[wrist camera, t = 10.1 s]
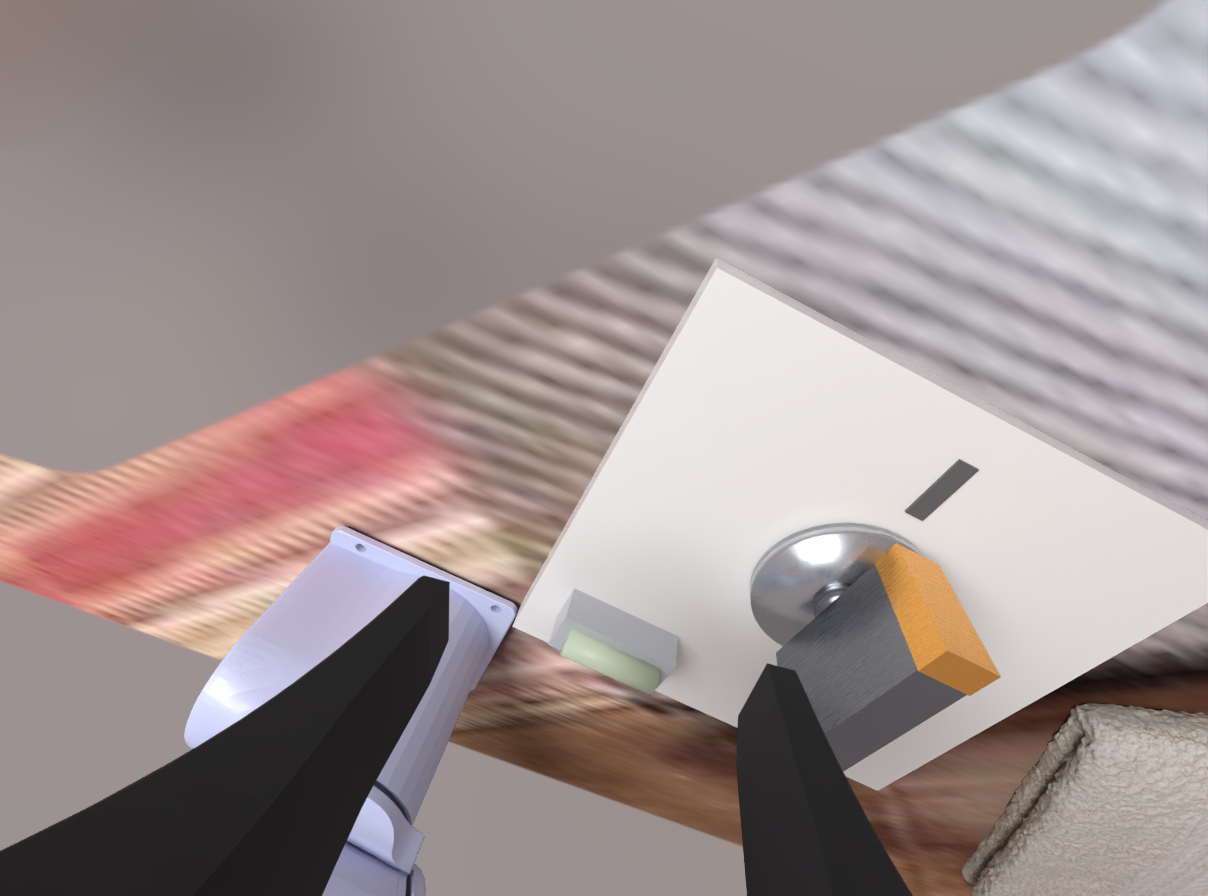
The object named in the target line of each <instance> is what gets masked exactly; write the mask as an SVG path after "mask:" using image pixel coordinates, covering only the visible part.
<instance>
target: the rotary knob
mask: <svg viewBox="0 0 1208 896" xmlns="http://www.w3.org/2000/svg"><path fill="white" fill-rule="evenodd" d="M750 601H751V608H752V612H753V615H754V618H755V620H756V621H757V623H758V625H759V626H760V628H761V629H762V630H763V631H764V632H765V633H766V634H767V635H768V636H769V637H770V638H771V639H772V640H774V641H775V642H777V643H778V644H780V645H781V646H783V647H782V648H781V649H780V650H778V651H777V652H776V659H777V666H780V667H784V668H788V669H791V670H795V671H796V673H797V674H798V676H799V679H800V681H801V683H802V685H803V688H804V690H805V692H806V694H807V697H808V699H809V701H810V703H811V705H812V708H813V710H814V712H815V714H816V716H817V719H818V721H819V723H820V725H821V727H822V729H823V731H824V733H825V736H826V738H827V740H828V742H829V744H830V746H831V748H832V750H833V752H834V754H835V756H836V758H837V760H838V762H839V764H840V766H841V768H842V770H843V772H844V771H845V770H847V769H848V768H850V767H852V766H853V765H855V764H857V763H858V762H860V761H861V760H863V759H865V758H866V757H868V756H869V755H871V754H873V753H874V752H876V751H878V750H879V749H881V748H882V747H884V746H886V745H887V744H889V743H890V742H892V741H894V740H895V739H897V738H899V737H900V736H902V735H903V734H905V733H907V732H908V731H910V730H911V729H913V728H915V727H916V726H918V725H920V724H921V723H923V722H924V721H926V720H928V719H929V718H931V717H932V716H934V715H936V714H937V713H939V712H941V711H942V710H944V709H945V708H947V707H949V706H950V705H952V704H953V703H955V702H957V701H958V700H960V699H962V698H963V697H965V696H966V695H969V696H971V695H973V694H974V693H976V692H978V691H979V690H981V689H982V688H984V687H986V686H987V685H989V684H991V683H992V682H994V681H995V680H997V679H999V678H1000V677H1001V676H1000V674H999V672H998V670H997V668H996V667H995V665H994V663H993V661H992V659H991V658H990V656H989V654H988V652H987V650H986V648H985V647H984V645H983V643H982V641H981V639H980V638H979V636H978V634H977V632H976V630H975V629H974V627H973V625H972V623H971V621H970V620H969V618H968V616H967V614H966V612H965V610H964V609H963V607H962V605H961V603H960V601H959V600H958V598H957V596H956V594H955V592H954V591H953V589H952V587H951V585H950V583H949V581H948V580H947V578H946V576H945V574H944V572H943V571H942V569H941V567H940V565H939V564H937V563H935V562H933V561H931V560H929V559H927V558H925V556H924V555H923V554H922V552H921V551H920V550H919V549H918V548H917V547H916V546H915V545H913V544H912V543H911V542H910V541H908V540H907V539H905V538H903V537H902V536H900V535H898V534H896V533H894V532H891V531H889V530H886V529H883V528H880V527H876V526H871V525H866V524H857V523H834V524H825V525H820V526H815V527H811V528H808V529H804V530H801V531H799V532H796V533H794V534H792V535H789V536H788V537H786V538H784V539H782V540H781V541H779V542H778V543H776V544H775V545H774V546H772V547H771V548H770V549H769V550H768V551H767V552H766V553H765V554H764V555H763V556H762V557H761V558H760V560H759V561H758V563H757V564H756V566H755V568H754V570H753V573H752V575H751V579H750Z"/></svg>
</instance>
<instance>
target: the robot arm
mask: <svg viewBox="0 0 1208 896" xmlns="http://www.w3.org/2000/svg"><path fill="white" fill-rule="evenodd" d="M517 610H518V609H517V606H516V605H515V604H514V603H512V602H511V601H509V600H506V599H504V598H502V597H500V596H497V595H495V594H493V593H491V592H489V591H486V590H484V589H482V588H480V587H478V586H475V585H473V584H471V583H469V582H467V581H464V580H462V579H460V578H458V577H456V576H453V575H451V574H449V573H447V572H445V571H442V570H440V569H438V568H436V567H434V566H431V565H429V564H427V563H425V562H423V561H420V560H418V559H416V558H414V557H412V556H409V555H407V554H405V553H403V552H401V551H398V550H396V549H394V548H392V547H389V546H387V545H385V544H383V543H381V542H378V541H376V540H374V539H372V538H370V537H367V536H365V535H363V534H361V533H359V532H356V531H354V530H352V529H350V528H348V527H344V526H339V527H337V528H336V529H335V530H334V531H333V532H332V534H331V539H330V543H329V544H328V545H327V546H326V547H325V548H324V549H323V550H322V551H321V552H320V553H319V555H318V556H317V557H316V558H315V559H314V560H313V561H312V562H311V563H310V564H309V565H308V566H307V567H306V568H305V569H304V571H303V572H302V573H301V574H300V575H299V576H298V577H297V578H296V579H295V580H294V581H293V582H292V583H291V584H290V585H289V587H288V588H287V589H286V590H285V591H284V592H283V593H282V594H281V595H280V596H279V597H278V598H277V599H276V600H275V602H274V603H273V604H272V605H271V606H270V607H269V608H268V609H267V610H266V611H265V612H264V613H263V614H262V615H261V616H260V618H259V619H258V620H257V621H256V622H255V623H254V624H253V625H252V626H251V627H250V628H249V629H248V630H247V631H246V633H245V634H244V635H243V636H242V637H241V638H240V639H239V640H238V642H237V643H236V644H235V645H234V646H233V648H232V649H231V650H230V651H229V653H228V654H227V655H226V657H225V658H224V659H223V661H222V662H221V663H220V665H219V666H218V667H217V669H216V670H215V672H214V673H213V675H212V676H211V678H210V679H209V681H208V682H207V684H206V685H205V687H204V688H203V690H202V692H201V694H200V695H199V697H198V699H197V701H196V703H195V705H194V707H193V709H192V711H191V714H190V716H189V719H188V722H187V725H186V729H185V736H184V738H185V742H186V744H187V745H188V746H189V747H190V748H192V750H191V751H189V752H187V753H185V754H184V755H182V756H180V757H179V758H177V759H175V760H174V761H172V762H170V763H168V764H167V765H165V766H163V767H161V768H159V769H158V770H156V771H154V772H152V773H150V774H148V775H147V776H145V777H143V778H141V779H139V780H138V781H136V782H134V783H132V784H130V785H129V786H127V787H125V788H123V789H121V790H119V791H118V792H116V793H114V794H112V795H110V796H109V797H107V798H105V799H103V800H102V801H99V802H98V803H96V804H94V805H92V806H90V807H88V808H86V809H85V810H82V811H80V812H78V813H76V814H74V815H72V816H70V817H68V818H66V819H64V820H62V821H60V822H58V823H56V824H54V825H52V826H50V827H48V828H46V829H44V830H42V831H40V832H38V833H36V834H34V835H32V836H30V837H28V838H26V839H24V840H22V841H20V842H18V843H16V844H14V845H12V846H9V847H7V848H5V849H3V850H1V851H0V896H425V894H426V888H425V879H424V875H423V873H422V870H421V869H420V868H419V867H418V866H417V865H416V864H414V863H415V860H416V858H417V855H418V853H419V850H420V847H421V845H422V843H423V840H424V838H425V836H424V834H423V833H421V832H420V831H418V830H417V829H415V828H414V827H413V826H412V825H413V823H414V820H415V818H416V816H417V813H418V811H419V809H420V806H421V804H422V802H423V799H424V797H425V794H426V792H427V790H428V787H429V785H430V783H431V781H432V778H433V776H434V774H435V771H436V769H437V767H438V764H439V762H440V759H441V757H442V755H443V753H444V750H445V748H446V746H447V743H448V741H449V739H450V736H451V734H452V732H453V729H454V727H455V725H456V722H457V720H458V718H459V715H460V713H461V711H462V708H463V706H464V704H465V701H466V699H467V697H468V694H469V692H470V691H472V690H474V689H475V687H476V685H477V684H478V682H479V680H480V678H481V676H482V675H483V673H484V671H485V669H486V668H487V666H488V664H489V662H490V661H491V659H492V657H493V655H494V653H495V652H496V650H497V648H498V646H499V645H500V643H501V641H502V639H503V638H504V636H505V634H506V632H507V631H508V629H509V627H510V625H511V623H512V622H513V620H514V618H515V616H516V614H517ZM737 778H738V791H739V804H740V816H741V828H742V840H743V851H744V863H745V875H746V887H747V896H913V895H912V894H911V892H910V891H909V889H908V887H907V886H906V884H905V882H904V881H903V879H902V878H901V876H900V874H899V873H898V871H897V869H896V867H895V866H894V864H893V862H892V861H891V859H890V857H889V856H888V854H887V852H886V850H885V849H884V847H883V845H882V843H881V842H880V840H879V838H878V836H877V834H876V833H875V831H874V829H873V827H872V825H871V824H870V822H869V820H868V818H867V816H866V815H865V813H864V811H863V809H862V807H861V805H860V803H859V801H858V800H857V798H856V796H855V794H854V792H853V790H852V788H851V786H850V784H849V782H848V780H847V778H846V776H845V774H844V772H843V770H842V768H841V766H840V764H839V762H838V760H837V758H836V756H835V754H834V752H833V750H832V748H831V746H830V744H829V742H828V740H827V738H826V736H825V733H824V731H823V729H822V727H821V725H820V723H819V721H818V719H817V716H816V714H815V712H814V710H813V708H812V705H811V703H810V701H809V699H808V697H807V694H806V692H805V690H804V688H803V685H802V683H801V681H800V679H799V676H798V674H797V673H796V671H795V670H791V669H788V668H784V667H780V666H776V665H772V664H768V663H767V664H766V666H765V668H764V670H763V672H762V673H761V675H760V677H759V679H758V681H757V682H756V684H755V686H754V688H753V690H752V692H751V693H750V695H749V697H748V699H747V701H746V702H745V704H744V706H743V708H742V710H741V712H740V713H739V715H738V730H737Z"/></svg>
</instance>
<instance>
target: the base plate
mask: <svg viewBox="0 0 1208 896" xmlns="http://www.w3.org/2000/svg"><path fill="white" fill-rule="evenodd" d="M834 523H857V524H866V525H871V526H876V527H880V528H883V529H886V530H889V531H891V532H894V533H896V534H898V535H900V536H902V537H903V538H905V539H907V540H908V541H910V542H911V543H912V544H913V545H915V546H916V547H917V548H918V549H919V550H920V551H921V552H922V554H923V555H924V556H925V558H927V559H929V560H931V561H933V562H935V563H937V564H939V565H940V567H941V569H942V571H943V572H944V574H945V576H946V578H947V580H948V581H949V583H950V585H951V587H952V589H953V591H954V592H955V594H956V596H957V598H958V600H959V601H960V603H961V605H962V607H963V609H964V610H965V612H966V614H967V616H968V618H969V620H970V621H971V623H972V625H973V627H974V629H975V630H976V632H977V634H978V636H979V638H980V639H981V641H982V643H983V645H984V647H985V648H986V650H987V652H988V654H989V656H990V658H991V659H992V661H993V663H994V665H995V667H996V668H997V670H998V672H999V674H1000V676H1001V677H1000V678H999V679H997V680H995V681H994V682H992V683H991V684H989V685H987V686H986V687H984V688H982V689H981V690H979V691H978V692H976V693H974V694H973V695H971V696H969V695H966V696H965V697H963V698H962V699H960V700H958V701H957V702H955V703H953V704H952V705H950V706H949V707H947V708H945V709H944V710H942V711H941V712H939V713H937V714H936V715H934V716H932V717H931V718H929V719H928V720H926V721H924V722H923V723H921V724H920V725H918V726H916V727H915V728H913V729H911V730H910V731H908V732H907V733H905V734H903V735H902V736H900V737H899V738H897V739H895V740H894V741H892V742H890V743H889V744H887V745H886V746H884V747H882V748H881V749H879V750H878V751H876V752H874V753H873V754H871V755H869V756H868V757H866V758H865V759H863V760H861V761H860V762H858V763H857V764H855V765H853V766H852V767H850V768H848V769H847V770H845V771H844V774H845V776H846V777H848V778H850V779H853V780H855V781H857V782H859V783H861V784H864V785H866V786H868V787H870V788H873V789H875V790H877V791H878V790H880V789H882V788H883V787H885V786H887V785H889V784H890V783H892V782H894V781H896V780H898V779H899V778H901V777H903V776H905V775H906V774H908V773H910V772H912V771H913V770H915V769H917V768H919V767H920V766H922V765H924V764H926V763H927V762H929V761H931V760H933V759H934V758H936V757H938V756H940V755H941V754H943V753H945V752H947V751H948V750H950V749H952V748H954V747H955V746H957V745H959V744H961V743H962V742H964V741H966V740H968V739H969V738H971V737H973V736H975V735H976V734H978V733H980V732H982V731H983V730H985V729H987V728H989V727H990V726H992V725H994V724H996V723H997V722H999V721H1001V720H1003V719H1004V718H1006V717H1008V716H1010V715H1011V714H1013V713H1015V712H1017V711H1018V710H1020V709H1022V708H1024V707H1025V706H1027V705H1029V704H1031V703H1033V702H1034V701H1036V700H1038V699H1040V698H1041V697H1043V696H1045V695H1047V694H1048V693H1050V692H1052V691H1054V690H1055V689H1057V688H1059V687H1061V686H1062V685H1064V684H1066V683H1068V682H1069V681H1071V680H1073V679H1075V678H1076V677H1078V676H1080V675H1082V674H1083V673H1085V672H1087V671H1089V670H1090V669H1092V668H1094V667H1096V666H1097V665H1099V664H1101V663H1103V662H1104V661H1106V660H1108V659H1110V658H1111V657H1113V656H1115V655H1117V654H1118V653H1120V652H1122V651H1124V650H1125V649H1127V648H1129V647H1131V646H1132V645H1134V644H1136V643H1138V642H1139V641H1141V640H1143V639H1145V638H1146V637H1148V636H1150V635H1152V634H1153V633H1155V632H1157V631H1159V630H1161V629H1162V628H1164V627H1166V626H1168V625H1169V624H1171V623H1173V622H1175V621H1176V620H1178V619H1180V618H1182V617H1183V616H1185V615H1187V614H1189V613H1190V612H1192V611H1194V610H1196V609H1197V608H1199V607H1201V606H1203V605H1204V604H1206V603H1208V521H1207V520H1205V519H1203V518H1201V517H1199V516H1198V515H1196V514H1194V513H1192V512H1190V511H1188V510H1186V509H1184V508H1183V507H1181V506H1179V505H1177V504H1175V503H1173V502H1171V501H1170V500H1168V499H1166V498H1164V497H1162V496H1160V495H1158V494H1156V493H1155V492H1153V491H1151V490H1149V489H1147V488H1145V487H1143V486H1142V485H1140V484H1138V483H1136V482H1134V481H1132V480H1130V479H1128V478H1127V477H1125V476H1123V475H1121V474H1119V473H1117V472H1115V471H1114V470H1112V469H1110V468H1108V467H1106V466H1104V465H1102V464H1100V463H1099V462H1097V461H1095V460H1093V459H1091V458H1089V457H1087V456H1086V455H1084V454H1082V453H1080V452H1078V451H1076V450H1074V449H1072V448H1071V447H1069V446H1067V445H1065V444H1063V443H1061V442H1059V441H1058V440H1056V439H1054V438H1052V437H1050V436H1048V435H1046V434H1044V433H1043V432H1041V431H1039V430H1037V429H1035V428H1033V427H1031V426H1030V425H1028V424H1026V423H1024V422H1022V421H1020V420H1018V419H1016V418H1015V417H1013V416H1011V415H1009V414H1007V413H1005V412H1003V411H1002V410H1000V409H998V408H996V407H994V406H992V405H990V404H988V403H987V402H985V401H983V400H981V399H979V398H977V397H975V396H974V395H972V394H970V393H968V392H966V391H964V390H962V389H961V388H959V387H957V386H955V385H953V384H951V383H949V382H947V381H946V380H944V379H942V378H940V377H938V376H936V375H934V374H933V373H931V372H929V371H927V370H925V369H923V368H921V367H919V366H918V365H916V364H914V363H912V362H910V361H908V360H906V359H905V358H903V357H901V356H899V355H897V354H895V353H893V352H891V351H890V350H888V349H886V348H884V347H882V346H880V345H878V344H877V343H875V342H873V341H871V340H869V339H867V338H865V337H863V336H862V335H860V334H858V333H856V332H854V331H852V330H850V329H849V328H847V327H845V326H843V325H841V324H839V323H837V322H835V321H834V320H832V319H830V318H828V317H826V316H824V315H822V314H821V313H819V312H817V311H815V310H813V309H811V308H809V307H807V306H806V305H804V304H802V303H800V302H798V301H796V300H794V299H793V298H791V297H789V296H787V295H785V294H783V293H781V292H779V291H778V290H776V289H774V288H772V287H770V286H768V285H766V284H765V283H763V282H761V281H759V280H757V279H755V278H753V277H751V276H750V275H748V274H746V273H744V272H742V271H740V270H738V269H737V268H735V267H733V266H731V265H729V264H727V263H725V262H723V261H722V260H720V259H718V258H716V259H715V261H714V262H713V264H712V266H711V268H710V269H709V271H708V273H707V275H706V277H705V278H704V280H703V282H702V284H701V285H700V287H699V289H698V291H697V293H696V294H695V296H694V298H693V300H692V301H691V303H690V305H689V307H688V309H687V310H686V312H685V314H684V316H683V317H682V319H681V321H680V323H679V324H678V326H677V328H676V330H675V332H674V333H673V335H672V337H671V339H670V340H669V342H668V344H667V346H666V348H665V349H664V351H663V353H662V355H661V356H660V358H659V360H658V362H657V364H656V365H655V367H654V369H653V371H652V372H651V374H650V376H649V378H648V380H647V381H646V383H645V385H644V387H643V388H642V390H641V392H640V394H639V395H638V397H637V399H636V401H635V403H634V404H633V406H632V408H631V410H630V411H629V413H628V415H627V417H626V419H625V420H624V422H623V424H622V426H621V427H620V429H619V431H618V433H617V435H616V436H615V438H614V440H613V442H612V443H611V445H610V447H609V449H608V451H607V452H606V454H605V456H604V458H603V459H602V461H601V463H600V465H599V467H598V468H597V470H596V472H595V474H594V475H593V477H592V479H591V481H590V482H589V484H588V486H587V488H586V490H585V491H584V493H583V495H582V497H581V498H580V500H579V502H578V504H577V506H576V507H575V509H574V511H573V513H572V514H571V516H570V518H569V520H568V522H567V523H566V525H565V527H564V529H563V530H562V532H561V534H560V536H559V538H558V539H557V541H556V543H555V545H554V546H553V548H552V550H551V552H550V553H549V555H548V557H547V559H546V561H545V562H544V564H543V566H542V568H541V569H540V571H539V573H538V575H537V577H536V578H535V580H534V582H533V584H532V585H531V587H530V589H529V591H528V593H527V594H526V596H525V598H524V600H523V601H522V604H521V606H520V609H519V611H518V614H517V616H516V619H515V621H514V624H513V626H512V627H514V628H516V629H519V630H521V631H523V632H525V633H528V634H530V635H532V636H534V637H536V638H539V639H541V640H543V641H545V642H548V645H549V646H552V647H554V648H556V649H558V650H561V651H560V655H561V656H563V657H566V658H568V659H570V660H572V661H574V662H577V663H579V664H581V665H583V666H586V667H588V668H590V669H592V670H595V671H597V672H599V673H601V674H604V675H606V676H608V677H610V678H612V679H615V680H617V681H619V682H621V683H624V684H626V685H628V686H630V687H633V688H635V689H637V690H639V691H641V692H644V693H646V694H648V695H650V694H651V693H652V692H654V691H657V692H659V693H661V694H663V695H666V696H668V697H670V698H672V699H674V700H677V701H679V702H681V703H683V704H686V705H688V706H690V707H692V708H695V709H697V710H699V711H701V712H703V713H706V714H708V715H710V716H712V717H715V718H717V719H719V720H721V721H723V722H726V723H728V724H730V725H732V726H735V727H737V728H738V715H739V713H740V712H741V710H742V708H743V706H744V704H745V702H746V701H747V699H748V697H749V695H750V693H751V692H752V690H753V688H754V686H755V684H756V682H757V681H758V679H759V677H760V675H761V673H762V672H763V670H764V668H765V666H766V664H767V663H768V664H772V665H776V666H777V659H776V652H777V651H778V650H780V649H781V648H782V647H783V646H781V645H780V644H778V643H777V642H775V641H774V640H772V639H771V638H770V637H769V636H768V635H767V634H766V633H765V632H764V631H763V630H762V629H761V628H760V626H759V625H758V623H757V621H756V620H755V618H754V615H753V612H752V608H751V601H750V579H751V575H752V573H753V570H754V568H755V566H756V564H757V563H758V561H759V560H760V558H761V557H762V556H763V555H764V554H765V553H766V552H767V551H768V550H769V549H770V548H771V547H772V546H774V545H775V544H776V543H778V542H779V541H781V540H782V539H784V538H786V537H788V536H789V535H792V534H794V533H796V532H799V531H801V530H804V529H808V528H811V527H815V526H820V525H825V524H834Z"/></svg>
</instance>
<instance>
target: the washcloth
mask: <svg viewBox="0 0 1208 896" xmlns="http://www.w3.org/2000/svg"><path fill="white" fill-rule="evenodd" d="M1033 767H1034V769H1032V770H1031V771H1030V773H1029V774H1028V776H1026V777H1025V778H1024V779H1023V781H1022V783H1023V784H1022V785H1021V786H1020V787H1019V788H1018V789H1016V790H1015V793H1016V794H1014V795H1013V798H1012V799H1011V803H1010V804H1009V805H1008V806H1007V808H1006V809H1005V812H1006V813H1004V814H1003V815H1001V817H1000V819H999V820H997V821H996V822H995V828H993V829H992V831H991V833H990V834H989V835H987V836H986V837H985V840H984V841H983V842H981V843H980V845H979V846H978V848H977V850H976V852H974V853H973V855H972V857H970V858H969V859H968V861H967V863H965V864H964V865H963V866H962V870H961V873H962V875H963V877H964V879H965V880H966V881H967V882H969V883H971V884H973V885H974V887H973V891H972V892H971V895H970V896H1208V715H1206V714H1203V713H1188V712H1185V711H1180V712H1173V711H1169V710H1165V709H1163V710H1161V711H1158V710H1154V709H1145V708H1142V707H1133V706H1128V707H1123V706H1120V705H1116V704H1096V703H1089V704H1083V705H1080V706H1078V705H1077V706H1076V708H1074V709H1071V715H1070V717H1069V718H1068V721H1067V722H1065V723H1064V725H1062V726H1061V728H1060V730H1059V733H1057V734H1055V736H1054V740H1053V741H1052V742H1049V743H1048V745H1047V748H1046V749H1045V752H1044V754H1043V755H1042V756H1041V757H1040V761H1039V763H1038V764H1037V765H1034V766H1033Z"/></svg>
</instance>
